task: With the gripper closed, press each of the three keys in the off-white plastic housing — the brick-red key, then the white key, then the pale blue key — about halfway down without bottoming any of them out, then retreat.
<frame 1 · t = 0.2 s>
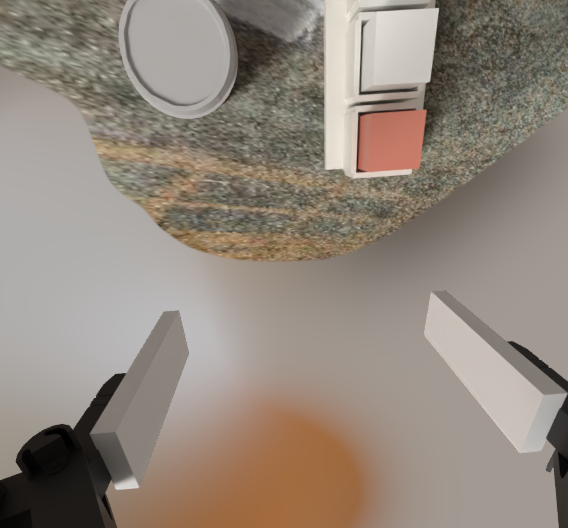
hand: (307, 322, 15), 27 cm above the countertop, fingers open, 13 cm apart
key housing: (374, 68, 34), on the countertop
white key: (395, 54, 28), point 6 cm above the countertop, slide at 0.0 cm
disposable coffee cup: (205, 79, 34), on the countertop
brick-red key: (388, 141, 31), point 6 cm above the countertop, slide at 0.0 cm
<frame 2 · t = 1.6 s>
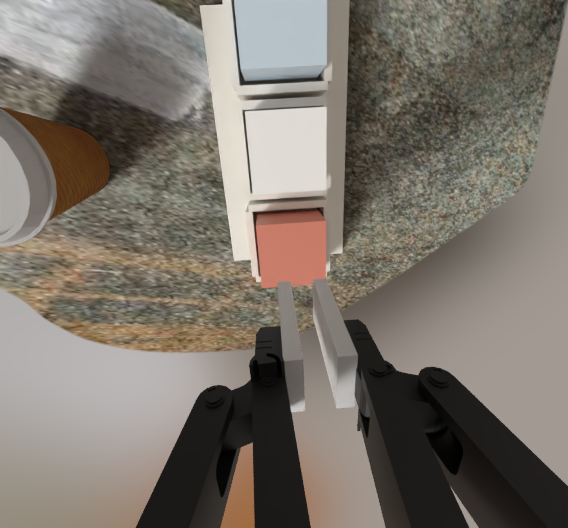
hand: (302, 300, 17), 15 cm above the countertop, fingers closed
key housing: (282, 149, 28), on the countertop
white key: (286, 152, 22), point 6 cm above the countertop, slide at 0.0 cm
pale blue key: (280, 24, 19), point 6 cm above the countertop, slide at 0.0 cm
disposable coffee cup: (77, 162, 28), on the countertop
brick-red key: (290, 247, 26), point 6 cm above the countertop, slide at 0.0 cm
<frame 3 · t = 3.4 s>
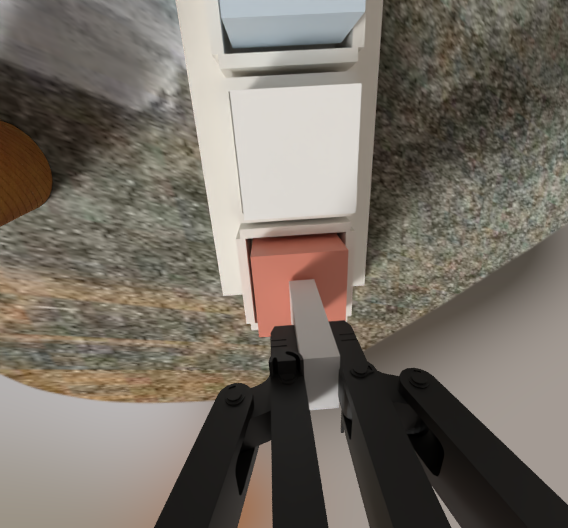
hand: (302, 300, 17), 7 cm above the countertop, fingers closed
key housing: (286, 150, 21), on the countertop
white key: (294, 155, 15), point 6 cm above the countertop, slide at 0.0 cm
disposable coffee cup: (6, 167, 20), on the countertop
brick-red key: (297, 281, 19), point 5 cm above the countertop, slide at 1.0 cm
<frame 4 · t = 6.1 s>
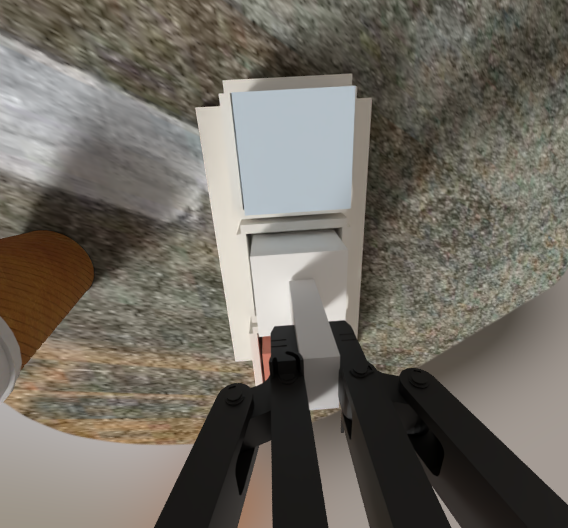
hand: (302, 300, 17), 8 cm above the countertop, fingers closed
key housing: (290, 249, 25), on the countertop
white key: (297, 280, 19), point 6 cm above the countertop, slide at 0.2 cm, touching gripper
pale blue key: (292, 153, 16), point 6 cm above the countertop, slide at 0.0 cm
disposable coffee cup: (56, 264, 24), on the countertop
brick-red key: (299, 361, 23), point 5 cm above the countertop, slide at 1.3 cm
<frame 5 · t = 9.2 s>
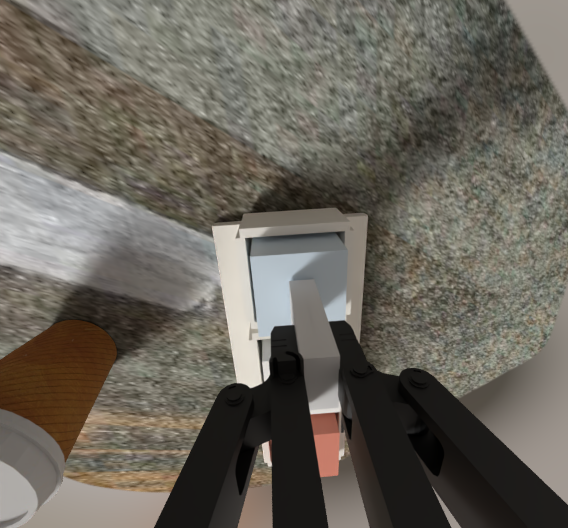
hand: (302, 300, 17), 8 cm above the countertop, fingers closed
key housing: (294, 330, 27), on the countertop
white key: (300, 368, 23), point 5 cm above the countertop, slide at 1.3 cm
pale blue key: (297, 281, 19), point 5 cm above the countertop, slide at 0.9 cm, touching gripper
disposable coffee cup: (82, 345, 27), on the countertop
brick-red key: (303, 435, 26), point 5 cm above the countertop, slide at 1.3 cm
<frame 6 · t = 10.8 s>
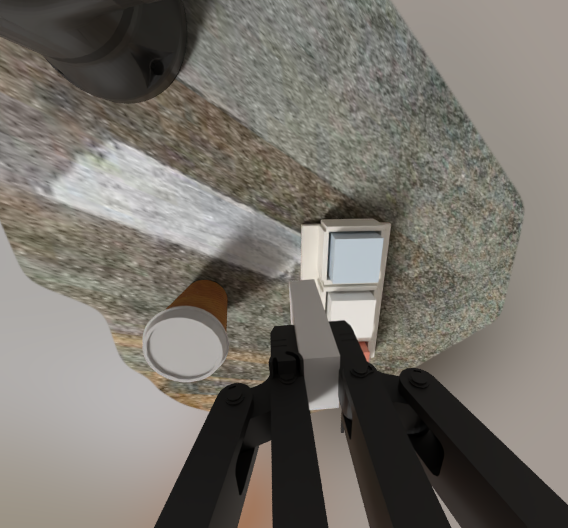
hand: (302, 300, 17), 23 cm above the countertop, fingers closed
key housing: (340, 295, 43), on the countertop
white key: (348, 311, 38), point 5 cm above the countertop, slide at 1.3 cm
pale blue key: (353, 255, 36), point 5 cm above the countertop, slide at 1.3 cm
disposable coffee cup: (206, 298, 42), on the countertop
brick-red key: (344, 359, 41), point 5 cm above the countertop, slide at 1.3 cm
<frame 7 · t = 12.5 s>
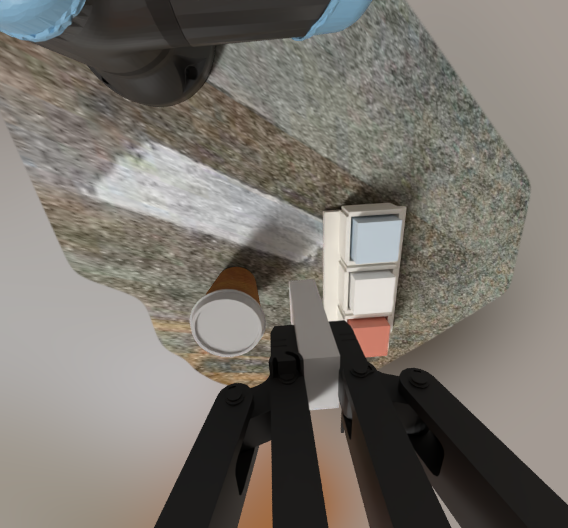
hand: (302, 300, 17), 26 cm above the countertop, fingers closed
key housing: (359, 275, 46), on the countertop
white key: (369, 289, 42), point 5 cm above the countertop, slide at 1.3 cm
pale blue key: (373, 237, 39), point 5 cm above the countertop, slide at 1.3 cm
disposable coffee cup: (236, 283, 46), on the countertop
brick-red key: (366, 334, 45), point 5 cm above the countertop, slide at 1.3 cm
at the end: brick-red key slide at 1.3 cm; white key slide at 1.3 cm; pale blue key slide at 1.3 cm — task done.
